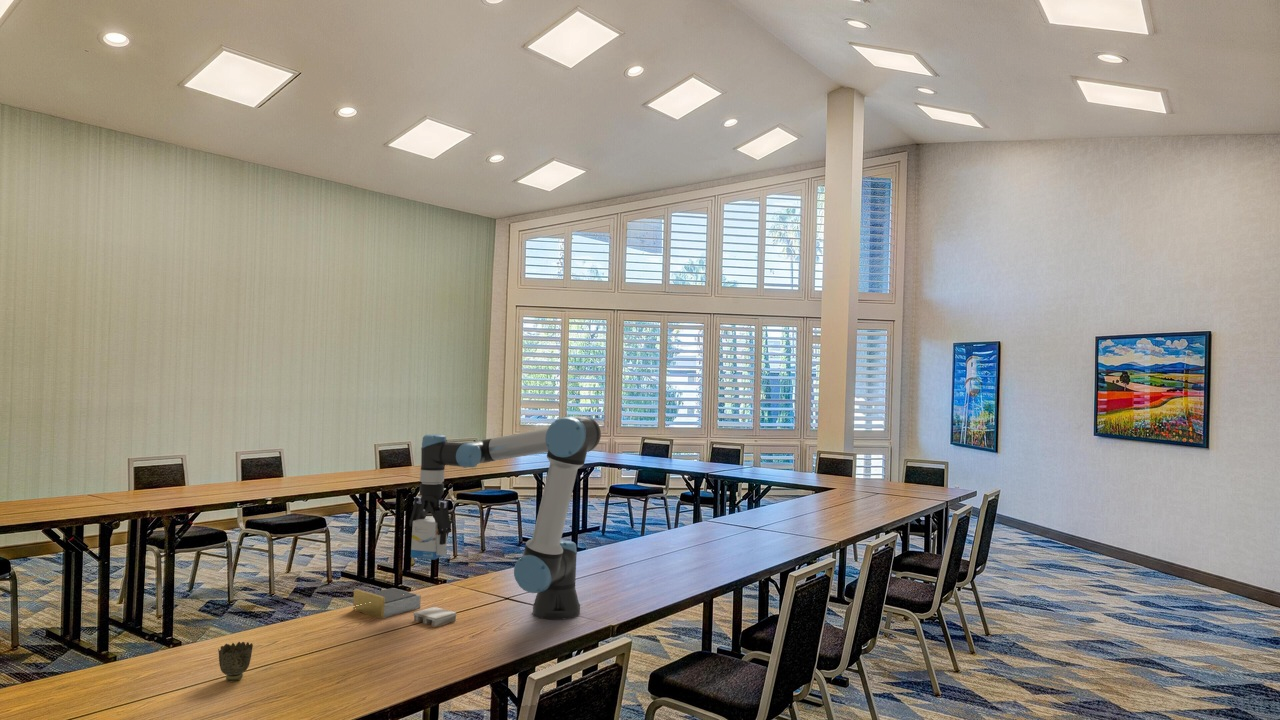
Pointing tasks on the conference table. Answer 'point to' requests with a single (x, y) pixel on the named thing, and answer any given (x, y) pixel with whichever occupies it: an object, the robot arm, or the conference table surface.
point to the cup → (235, 660)
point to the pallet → (435, 616)
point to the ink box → (425, 539)
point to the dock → (385, 602)
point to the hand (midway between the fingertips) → (428, 551)
